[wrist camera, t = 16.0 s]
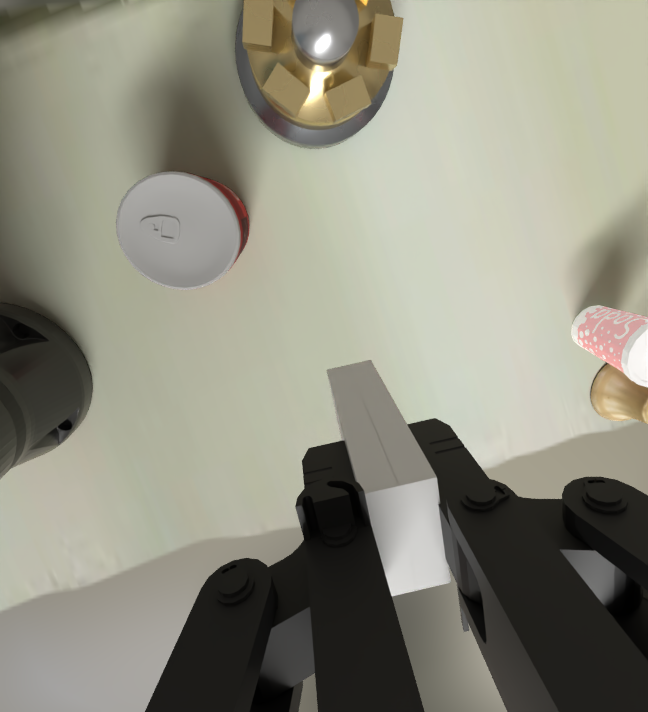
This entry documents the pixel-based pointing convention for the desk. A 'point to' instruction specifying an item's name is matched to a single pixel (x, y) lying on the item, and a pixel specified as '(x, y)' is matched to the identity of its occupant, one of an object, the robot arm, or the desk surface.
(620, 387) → the hand bell
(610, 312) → the beverage cup
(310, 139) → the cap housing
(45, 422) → the robot arm
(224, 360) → the desk surface
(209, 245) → the canned food
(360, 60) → the geared crank handle
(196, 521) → the desk surface
